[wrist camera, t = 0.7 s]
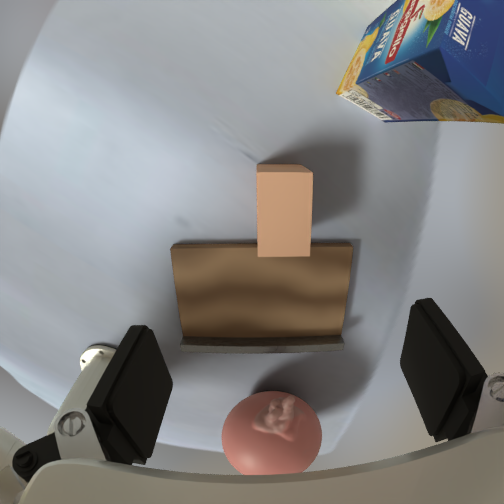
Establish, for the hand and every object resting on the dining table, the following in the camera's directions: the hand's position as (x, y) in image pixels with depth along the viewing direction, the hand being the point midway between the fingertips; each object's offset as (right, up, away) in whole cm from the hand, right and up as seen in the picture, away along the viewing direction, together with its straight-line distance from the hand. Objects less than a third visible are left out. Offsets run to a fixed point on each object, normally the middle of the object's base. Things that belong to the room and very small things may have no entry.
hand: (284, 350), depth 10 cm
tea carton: (+2, +10, +25) cm, 27 cm away
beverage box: (+14, +25, +19) cm, 34 cm away
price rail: (0, -8, +32) cm, 33 cm away
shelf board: (0, -2, +29) cm, 29 cm away
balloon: (+3, -20, +37) cm, 42 cm away
